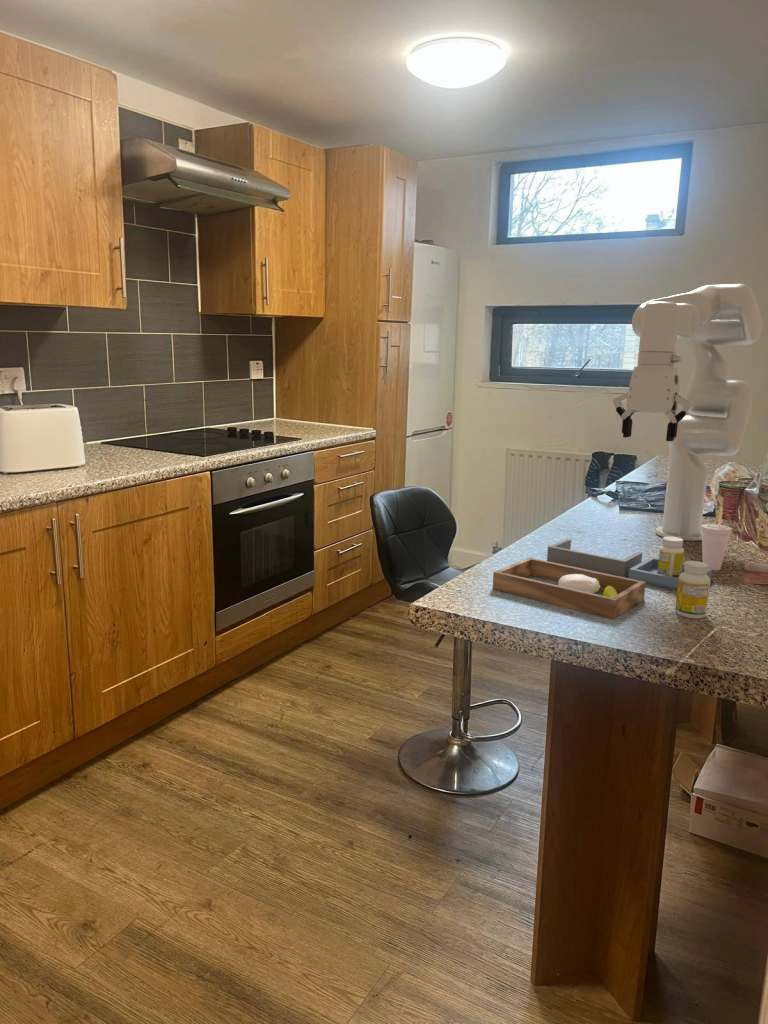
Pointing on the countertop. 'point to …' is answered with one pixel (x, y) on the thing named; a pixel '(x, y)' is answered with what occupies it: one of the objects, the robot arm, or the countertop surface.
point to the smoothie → (714, 543)
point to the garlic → (580, 583)
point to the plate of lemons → (610, 592)
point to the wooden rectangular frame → (517, 584)
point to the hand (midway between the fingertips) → (648, 438)
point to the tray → (656, 574)
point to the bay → (591, 560)
